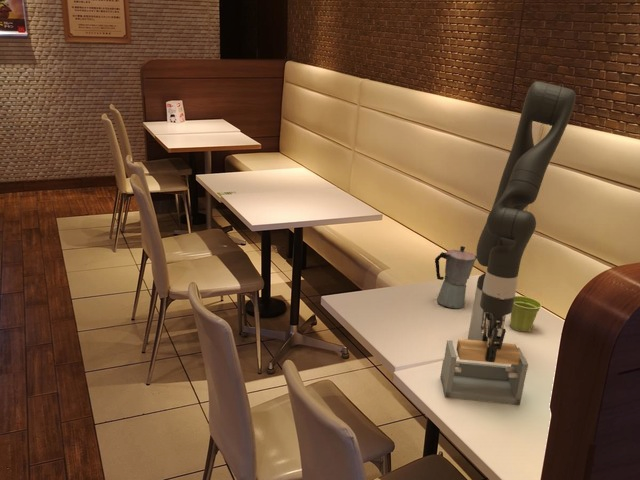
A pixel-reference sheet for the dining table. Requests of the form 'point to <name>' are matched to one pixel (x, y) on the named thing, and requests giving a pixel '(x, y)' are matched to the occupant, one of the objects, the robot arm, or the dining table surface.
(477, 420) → the dining table surface
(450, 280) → the moka pot
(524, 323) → the plant pot
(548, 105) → the robot arm
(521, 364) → the grey rack
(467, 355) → the shelf board
